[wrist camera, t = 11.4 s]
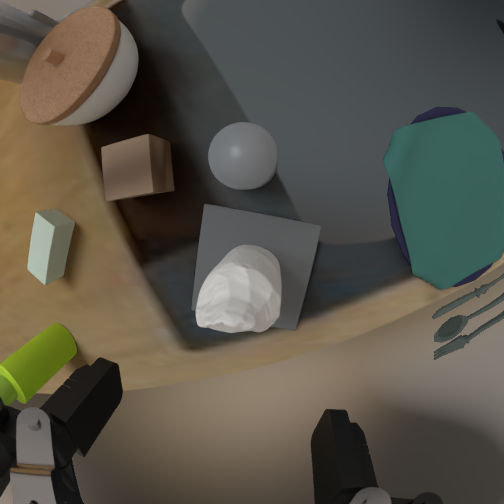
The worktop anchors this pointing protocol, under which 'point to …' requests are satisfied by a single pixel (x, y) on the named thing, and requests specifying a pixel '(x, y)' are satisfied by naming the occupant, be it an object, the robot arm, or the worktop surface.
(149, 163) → the walnut cube
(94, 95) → the lidded bowl
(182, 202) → the worktop surface
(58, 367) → the soap dispenser
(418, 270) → the teal place setting
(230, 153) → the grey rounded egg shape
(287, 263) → the mat
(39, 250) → the sage bar
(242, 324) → the white tall lump
